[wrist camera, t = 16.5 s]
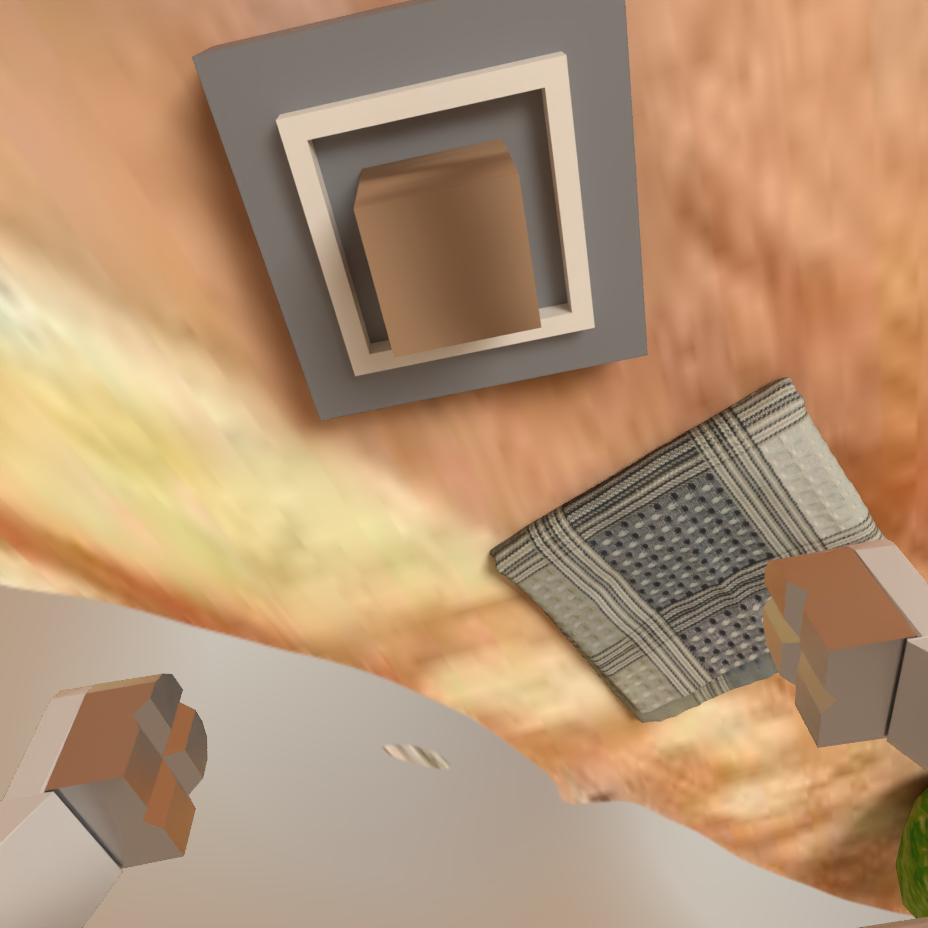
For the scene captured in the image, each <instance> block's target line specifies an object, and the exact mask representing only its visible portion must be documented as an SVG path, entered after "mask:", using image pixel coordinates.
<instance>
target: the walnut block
mask: <svg viewBox="0 0 928 928" xmlns="http://www.w3.org/2000/svg"><path fill="white" fill-rule="evenodd" d="M354 213H355V216H356V220H357V224H358V227H359V231H360V235H361V238H362V242H363V246H364V249H365V253H366V257H367V260H368V264H369V268H370V271H371V275H372V279H373V282H374V286H375V290H376V293H377V297H378V300H379V304H380V308H381V311H382V315H383V319H384V322H385V326H386V330H387V333H388V337H389V341H390V344H391V348H392V352H393V355H394V357H399V356H404V355H409V354H414V353H419V352H424V351H429V350H434V349H439V348H444V347H448V346H453V345H458V344H463V343H468V342H473V341H478V340H483V339H488V338H493V337H498V336H502V335H507V334H512V333H517V332H522V331H527V330H532V329H537V328H541V321H540V314H539V307H538V300H537V294H536V287H535V280H534V273H533V266H532V260H531V253H530V246H529V239H528V233H527V226H526V219H525V212H524V205H523V199H522V192H521V185H520V178H519V173H518V171H517V169H516V167H515V164H514V162H513V160H512V158H511V156H510V154H509V152H508V150H507V148H506V146H505V144H504V142H503V140H502V138H500V139H495V140H491V141H486V142H482V143H477V144H473V145H468V146H463V147H459V148H454V149H450V150H445V151H441V152H436V153H432V154H427V155H422V156H418V157H413V158H409V159H404V160H400V161H395V162H390V163H386V164H381V165H377V166H372V167H368V168H363V169H362V172H361V176H360V181H359V186H358V191H357V195H356V200H355V205H354Z"/></svg>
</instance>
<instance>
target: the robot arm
mask: <svg viewBox="0 0 928 928" xmlns="http://www.w3.org/2000/svg"><path fill="white" fill-rule="evenodd" d="M764 584H765V585H766V587H767V589H768V591H769V593H770V594H771V596H772V597H771V598H770V600H769V601H768V602H767V603H766V604H765V605H764V607H763V627H764V632H765V637H766V642H767V646H768V649H769V652H770V654H771V657H772V660H773V662H774V664H775V666H776V668H777V670H778V672H779V674H780V676H781V677H783V678H785V679H786V680H788V681H790V682H791V683H793V684H794V685H796V696H795V705H796V707H797V709H798V711H799V713H800V715H801V717H802V718H803V720H804V722H805V724H806V726H807V728H808V730H809V732H810V734H811V736H812V737H813V739H814V741H815V743H816V745H817V747H818V748H819V747H826V746H833V745H840V744H847V743H854V742H861V741H868V740H875V739H882V738H887V742H888V743H890V744H891V745H892V746H894V747H895V748H896V749H898V750H899V751H901V752H902V753H903V754H905V755H906V756H907V757H909V758H910V759H911V760H913V761H914V762H915V763H917V764H918V765H919V766H921V767H922V768H923V769H925V770H926V771H927V772H928V583H927V582H926V581H925V580H924V578H923V577H922V576H921V575H920V574H919V572H918V571H917V570H916V569H915V568H914V566H913V565H912V564H911V563H910V562H909V561H908V559H907V558H906V557H905V556H904V555H903V553H902V552H901V551H900V550H899V549H898V547H897V546H896V545H895V544H894V543H893V542H891V541H889V540H887V539H880V540H875V541H870V542H864V543H859V544H854V545H849V546H846V547H838V548H833V549H828V550H823V551H818V552H813V553H808V554H803V555H797V556H792V557H787V558H782V559H777V560H772V561H768V563H767V566H766V568H765V578H764ZM182 691H183V689H182V688H181V686H180V685H179V684H178V682H177V681H176V679H175V678H174V676H173V675H172V674H159V675H152V676H146V677H140V678H133V679H127V680H121V681H114V682H108V683H102V684H96V685H93V686H87V687H81V688H74V689H68V690H62V691H60V692H59V693H58V694H56V695H55V696H54V697H53V698H52V699H51V700H50V701H49V703H48V706H47V708H46V710H45V712H44V714H43V716H42V718H41V720H40V723H39V724H38V727H37V729H36V731H35V733H34V735H33V737H32V739H31V741H30V743H29V745H28V748H27V750H26V752H25V754H24V756H23V758H22V760H21V762H20V765H19V767H18V769H17V771H16V773H15V775H14V777H13V779H12V781H11V783H10V785H9V788H8V790H7V792H6V794H5V796H4V798H3V800H0V928H83V927H84V925H85V924H86V922H87V921H88V920H89V918H90V917H91V916H92V914H93V913H94V911H95V910H96V909H97V907H98V906H99V905H100V903H101V902H102V900H103V899H104V897H105V896H106V895H107V893H108V892H109V890H110V889H111V888H112V887H113V885H114V884H115V882H116V881H117V880H118V878H119V877H120V875H121V874H122V873H123V871H122V870H121V869H122V868H127V867H132V866H137V865H141V864H147V863H152V862H157V861H162V860H167V859H172V858H177V857H182V856H184V854H185V849H186V845H187V841H188V837H189V833H190V829H191V825H192V821H193V817H194V813H195V809H196V808H195V806H194V805H193V803H192V801H191V799H190V797H189V794H190V793H191V791H192V790H193V789H194V788H195V787H196V785H197V784H198V783H199V782H200V781H201V780H202V779H203V776H204V771H205V766H206V762H207V736H206V733H205V729H204V726H203V722H202V720H201V719H200V717H199V715H198V713H197V712H196V710H194V709H192V708H190V707H188V706H186V705H184V704H182V703H180V702H179V701H180V698H181V694H182ZM860 928H928V917H923V918H917V919H911V920H904V921H898V922H892V923H886V924H879V925H873V926H866V927H860Z"/></svg>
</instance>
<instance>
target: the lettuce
mask: <svg viewBox="0 0 928 928" xmlns="http://www.w3.org/2000/svg"><path fill="white" fill-rule="evenodd" d="M896 868H897V874H898V879H899V885H900V890H901V896H902V901H903V905H904V906H905V907H906V908H907V909H908V910H909V911H910V913H911V914H912V915H913V916H914V917H915V918H916V919H917V918H923V917H928V787H927V788H926V789H925V790H924V792H923V793H922V794H921V795H920V796H919V797H918V798H917V799H916V800H915V802H914V805H913V807H912V810H911V812H910V814H909V817H908V819H907V822H906V824H905V827H904V829H903V834H902V838H901V843H900V847H899V852H898V856H897V861H896Z"/></svg>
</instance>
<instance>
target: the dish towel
mask: <svg viewBox="0 0 928 928" xmlns="http://www.w3.org/2000/svg"><path fill="white" fill-rule="evenodd" d="M880 539H885V537H884V536H883V534H882V533H881V532H880V530H879V529H878V527H877V526H876V524H875V522H874V521H873V519H872V517H871V515H870V514H869V512H868V509H867V507H866V506H865V505H864V503H863V502H862V500H861V497H860V495H859V494H858V493H857V491H856V490H855V488H854V486H853V484H852V483H851V482H850V481H849V480H848V479H847V477H846V476H845V473H844V471H843V470H842V469H841V467H840V466H839V464H838V462H837V460H836V458H835V457H834V456H833V454H832V453H831V452H830V450H829V447H828V445H827V443H826V442H825V441H824V440H823V439H822V437H821V435H820V433H819V431H818V429H817V428H816V427H815V425H814V424H813V423H812V420H811V417H810V416H809V414H808V413H807V412H806V410H805V405H804V399H803V397H802V395H801V394H799V393H798V392H797V391H796V389H795V387H794V384H793V382H792V381H791V379H790V378H787V377H786V378H782V379H779V380H777V381H775V382H772V383H770V384H768V385H767V386H765V387H764V388H762V389H760V390H758V391H756V392H754V393H752V394H750V395H749V396H747V397H746V398H744V399H742V400H740V401H739V402H737V403H735V404H733V405H731V406H730V407H729V408H727V409H725V410H724V411H722V412H720V413H719V414H717V415H715V416H713V417H712V418H710V419H709V420H707V421H705V422H703V423H701V424H700V425H698V426H696V427H694V428H692V429H690V430H689V431H688V432H686V433H685V434H683V435H681V436H679V437H678V438H677V439H675V440H673V441H672V442H670V443H668V444H666V445H664V446H662V447H661V448H659V449H657V450H655V451H653V452H652V453H650V454H648V455H646V456H645V457H643V458H642V459H640V460H639V461H637V462H636V463H634V464H632V465H631V466H629V467H627V468H625V469H624V470H622V471H621V472H619V473H618V474H616V475H614V476H613V477H611V478H609V479H607V480H606V481H604V482H602V483H600V484H598V485H597V486H595V487H594V488H591V489H589V490H588V491H587V492H585V493H583V494H581V495H579V496H578V497H575V498H574V499H572V500H571V501H569V502H567V503H565V504H564V505H562V506H560V507H558V508H557V509H555V510H553V511H552V512H550V513H549V514H547V515H545V516H543V517H541V518H540V519H538V520H536V521H535V522H533V523H531V524H530V525H528V526H526V527H525V528H524V529H522V530H521V531H520V532H518V533H516V534H515V535H513V536H512V537H511V538H509V539H508V540H506V541H504V542H503V543H501V544H499V545H498V546H496V547H495V548H493V549H492V550H491V551H490V554H491V555H492V556H493V557H494V558H495V561H496V569H497V571H498V572H500V573H501V574H503V575H505V576H507V577H508V578H509V579H510V580H511V581H512V582H513V583H515V584H516V585H517V586H518V587H519V588H520V589H522V590H523V591H524V592H525V593H527V594H528V595H529V597H530V598H531V599H532V600H533V601H534V602H535V603H537V604H538V605H539V606H540V607H541V608H542V609H543V610H544V612H545V613H546V614H547V615H548V616H549V617H550V618H551V620H552V621H553V622H554V623H555V624H556V626H557V627H558V628H559V629H560V630H561V632H562V633H563V634H564V635H565V636H566V637H567V638H568V640H569V641H570V642H571V643H572V644H573V645H574V646H575V647H576V648H577V650H578V651H579V652H580V653H581V654H582V656H583V657H584V658H585V659H586V660H587V661H588V662H589V663H590V665H591V666H592V667H593V668H594V669H595V671H596V672H597V674H598V675H599V676H600V677H601V678H603V679H604V681H605V683H606V684H607V685H608V686H609V687H610V688H611V690H612V691H613V692H614V693H615V694H616V695H617V696H618V697H619V698H620V700H621V701H622V702H623V703H624V704H626V705H627V706H628V708H629V710H631V711H632V712H633V713H634V714H635V716H636V717H637V718H638V719H639V720H640V721H641V722H643V723H644V722H651V721H663V720H665V719H667V718H670V717H675V716H677V715H679V714H680V713H682V712H684V711H686V710H688V709H690V708H693V707H697V706H699V705H700V704H701V703H702V702H705V701H707V700H709V699H712V698H714V697H716V696H718V695H720V694H723V693H725V692H727V691H730V690H732V689H734V688H738V687H741V686H745V685H748V684H751V683H753V682H755V681H758V680H763V679H767V678H769V677H771V676H772V675H773V674H775V673H778V670H777V668H776V666H775V664H774V662H773V660H772V657H771V654H770V652H769V649H768V646H767V642H766V637H765V632H764V627H763V607H764V605H765V604H766V603H767V602H768V601H769V600H770V598H771V597H772V596H771V594H770V593H769V591H768V589H767V587H766V585H765V584H764V578H765V568H766V566H767V563H768V561H772V560H777V559H782V558H787V557H792V556H797V555H803V554H808V553H813V552H818V551H823V550H828V549H833V548H838V547H846V546H849V545H854V544H859V543H864V542H870V541H875V540H880Z"/></svg>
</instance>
